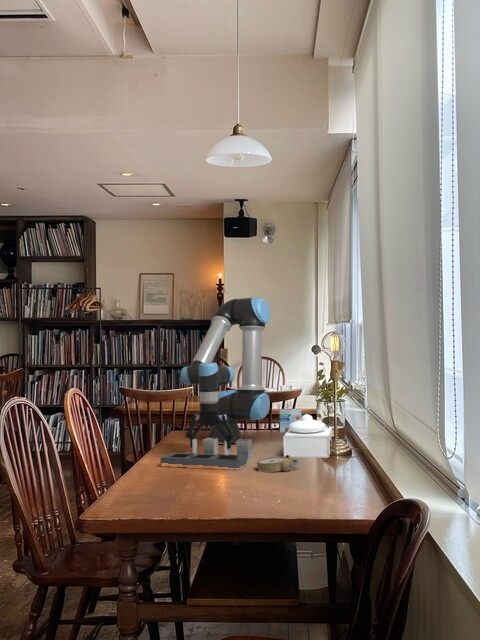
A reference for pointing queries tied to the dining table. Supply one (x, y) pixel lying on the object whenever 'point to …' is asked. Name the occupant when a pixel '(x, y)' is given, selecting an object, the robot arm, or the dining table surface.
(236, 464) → the grey metal flat frame
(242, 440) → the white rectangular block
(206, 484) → the dining table surface
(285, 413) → the light bulb box
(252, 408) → the robot arm
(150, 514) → the dining table surface
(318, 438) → the white box with dome
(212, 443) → the grey rectangular block
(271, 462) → the alarm clock
